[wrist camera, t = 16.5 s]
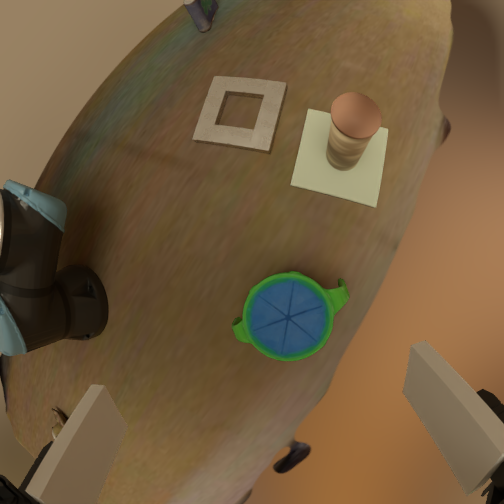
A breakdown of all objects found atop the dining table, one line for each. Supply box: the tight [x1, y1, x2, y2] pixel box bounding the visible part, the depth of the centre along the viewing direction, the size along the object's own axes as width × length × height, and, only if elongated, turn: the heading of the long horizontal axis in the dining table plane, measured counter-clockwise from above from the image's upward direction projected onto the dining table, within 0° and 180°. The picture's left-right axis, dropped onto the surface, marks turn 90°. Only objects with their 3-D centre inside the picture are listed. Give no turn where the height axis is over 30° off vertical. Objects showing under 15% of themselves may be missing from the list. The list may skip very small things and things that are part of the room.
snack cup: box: [232, 271, 350, 361], centre depth 36 cm, size 16×11×10 cm
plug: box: [326, 92, 382, 171], centre depth 32 cm, size 5×5×14 cm
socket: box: [193, 76, 287, 154], centre depth 41 cm, size 13×13×2 cm
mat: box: [291, 109, 388, 208], centre depth 39 cm, size 13×13×1 cm
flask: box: [184, 0, 219, 32], centre depth 37 cm, size 10×3×12 cm, turn 171°
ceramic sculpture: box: [52, 408, 67, 440], centre depth 48 cm, size 11×9×15 cm
